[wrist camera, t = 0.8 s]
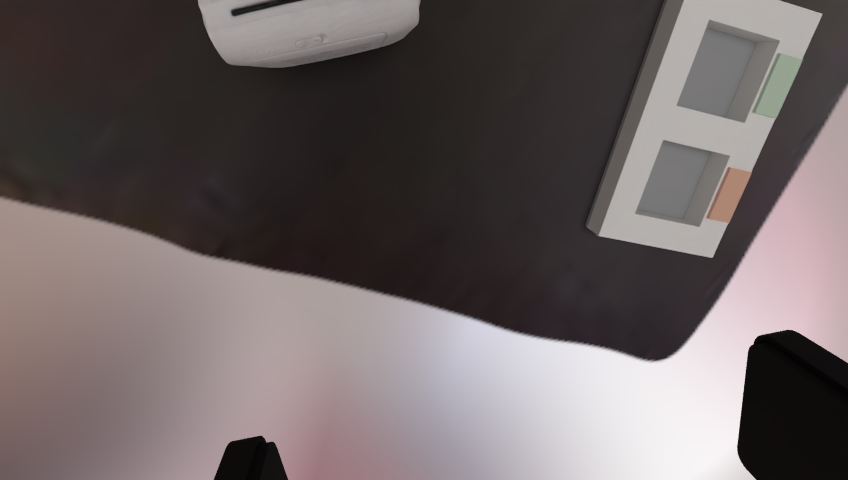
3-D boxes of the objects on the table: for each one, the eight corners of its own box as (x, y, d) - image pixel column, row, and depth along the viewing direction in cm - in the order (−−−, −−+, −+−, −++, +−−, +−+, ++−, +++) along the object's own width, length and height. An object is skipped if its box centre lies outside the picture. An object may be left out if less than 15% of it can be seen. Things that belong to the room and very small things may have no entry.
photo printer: (399, -29, 30) (417, -93, 18) (413, 42, 31) (437, 25, 20) (241, 4, 30) (158, -39, 18) (263, 74, 31) (199, 76, 20)
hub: (671, -20, 32) (696, -28, 29) (792, 17, 34) (826, 13, 31) (584, 226, 37) (600, 237, 35) (692, 247, 39) (715, 259, 37)
